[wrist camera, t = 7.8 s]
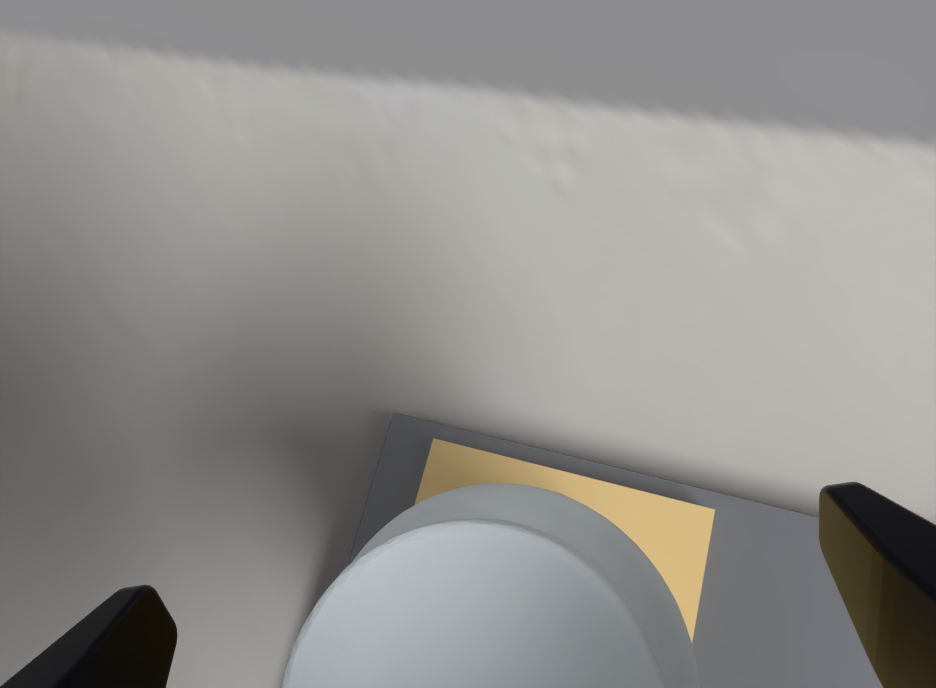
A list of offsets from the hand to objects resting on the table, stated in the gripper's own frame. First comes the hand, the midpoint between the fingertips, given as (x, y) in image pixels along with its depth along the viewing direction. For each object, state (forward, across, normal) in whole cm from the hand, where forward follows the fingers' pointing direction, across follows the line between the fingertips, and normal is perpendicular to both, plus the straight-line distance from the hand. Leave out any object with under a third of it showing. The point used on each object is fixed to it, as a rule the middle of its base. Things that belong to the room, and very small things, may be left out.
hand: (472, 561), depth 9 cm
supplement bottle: (+4, 0, +7) cm, 8 cm away
